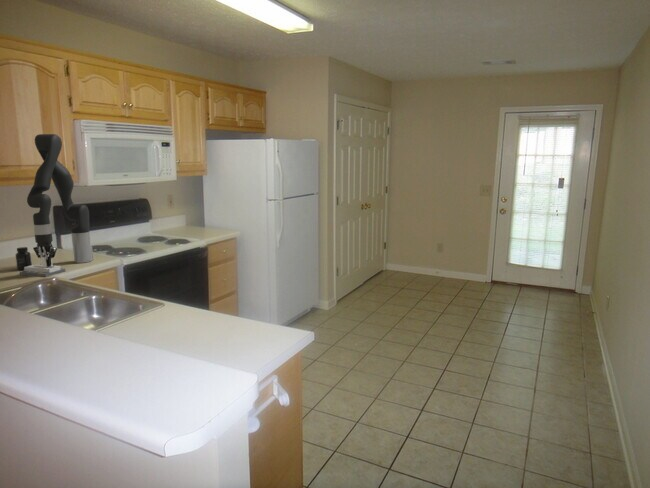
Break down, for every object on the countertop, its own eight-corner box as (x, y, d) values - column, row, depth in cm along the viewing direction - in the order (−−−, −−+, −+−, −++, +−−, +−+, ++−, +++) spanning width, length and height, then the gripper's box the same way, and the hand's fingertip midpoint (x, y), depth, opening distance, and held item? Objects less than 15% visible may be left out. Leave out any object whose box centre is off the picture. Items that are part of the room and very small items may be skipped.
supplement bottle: (35, 268, 246) (32, 246, 244) (24, 270, 239) (21, 248, 237) (25, 267, 248) (22, 246, 246) (14, 270, 241) (11, 248, 239)
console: (40, 269, 242) (39, 263, 241) (65, 271, 237) (64, 264, 237) (19, 274, 231) (18, 268, 230) (45, 276, 226) (45, 270, 225)
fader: (48, 269, 235) (46, 255, 234) (54, 269, 234) (52, 255, 233) (41, 271, 231) (39, 257, 230) (47, 271, 230) (45, 257, 229)
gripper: (60, 232, 231) (63, 265, 234) (39, 231, 235) (43, 263, 238) (47, 234, 224) (51, 268, 227) (26, 233, 228) (30, 266, 231)
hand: (47, 265), depth 232 cm, fingers closed on fader, 2 cm apart
